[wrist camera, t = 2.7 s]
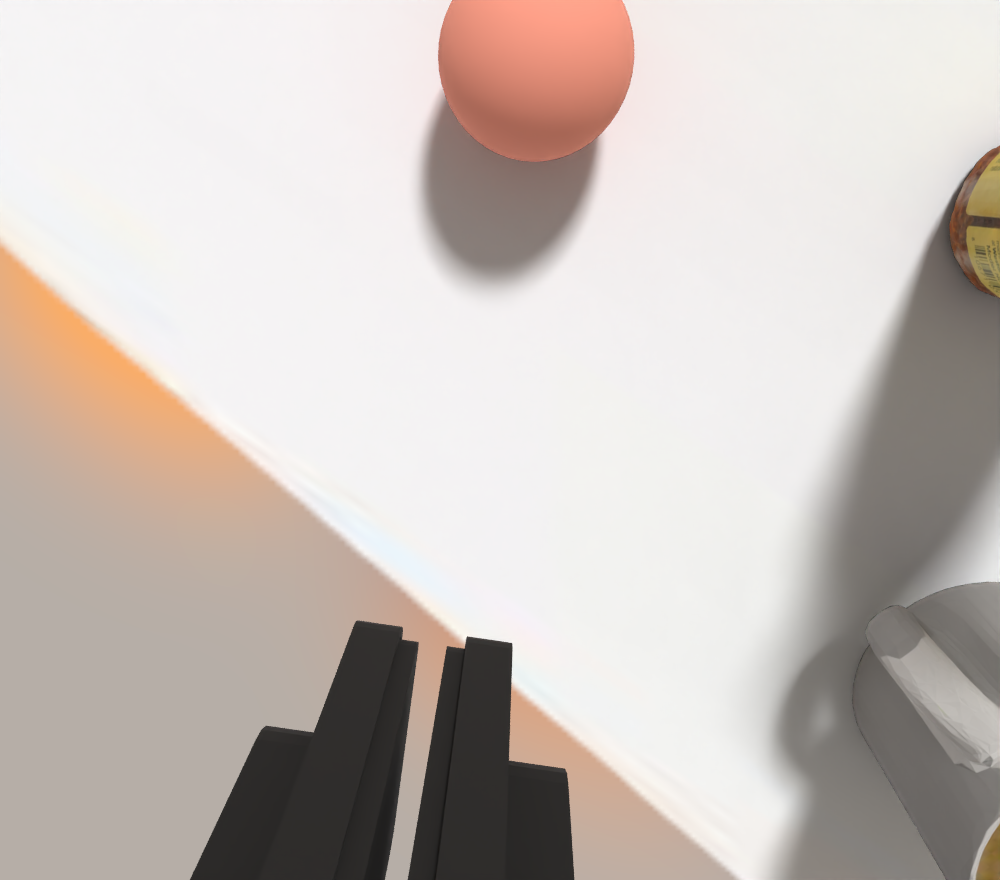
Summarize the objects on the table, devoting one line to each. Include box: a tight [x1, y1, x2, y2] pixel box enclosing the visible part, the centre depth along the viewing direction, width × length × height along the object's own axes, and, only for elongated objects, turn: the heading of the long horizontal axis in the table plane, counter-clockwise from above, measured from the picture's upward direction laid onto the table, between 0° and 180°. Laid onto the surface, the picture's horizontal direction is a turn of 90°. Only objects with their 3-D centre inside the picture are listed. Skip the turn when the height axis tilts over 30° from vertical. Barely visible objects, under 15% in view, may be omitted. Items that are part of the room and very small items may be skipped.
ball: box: [438, 0, 634, 162], centre depth 26 cm, size 6×6×6 cm
